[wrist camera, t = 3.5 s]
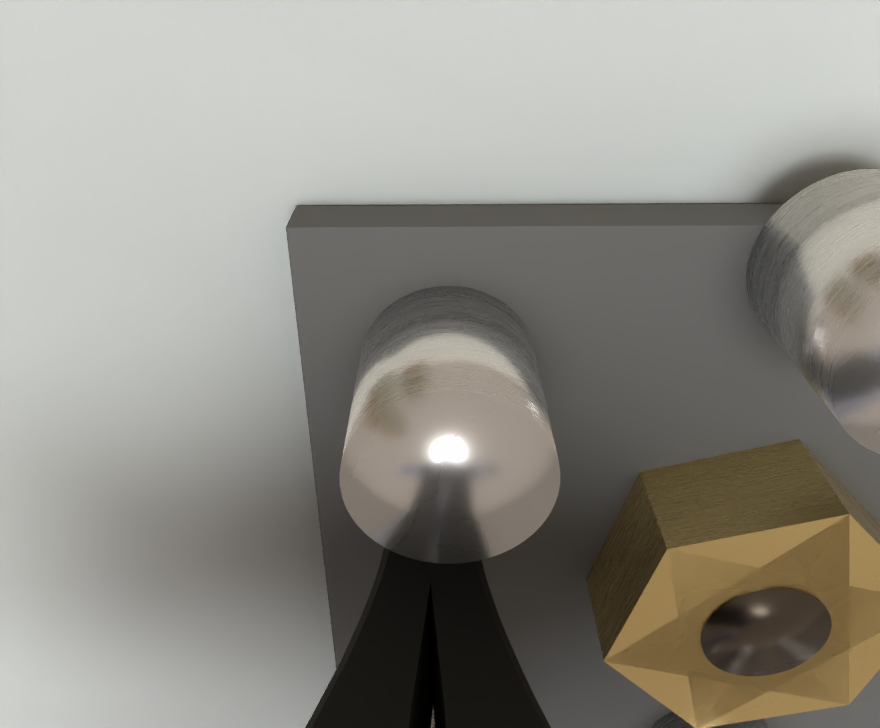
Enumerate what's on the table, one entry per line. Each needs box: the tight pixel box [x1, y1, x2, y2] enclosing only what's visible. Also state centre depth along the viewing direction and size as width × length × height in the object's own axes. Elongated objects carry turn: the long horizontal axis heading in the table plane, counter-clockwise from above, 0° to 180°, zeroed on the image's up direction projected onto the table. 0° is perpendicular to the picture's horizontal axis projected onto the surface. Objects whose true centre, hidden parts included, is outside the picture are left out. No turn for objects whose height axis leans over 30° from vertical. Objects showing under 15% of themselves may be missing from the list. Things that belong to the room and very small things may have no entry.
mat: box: [286, 203, 880, 728], centre depth 14 cm, size 15×13×1 cm
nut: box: [586, 439, 880, 728], centre depth 12 cm, size 4×5×2 cm
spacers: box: [340, 169, 880, 728], centre depth 12 cm, size 15×12×2 cm
